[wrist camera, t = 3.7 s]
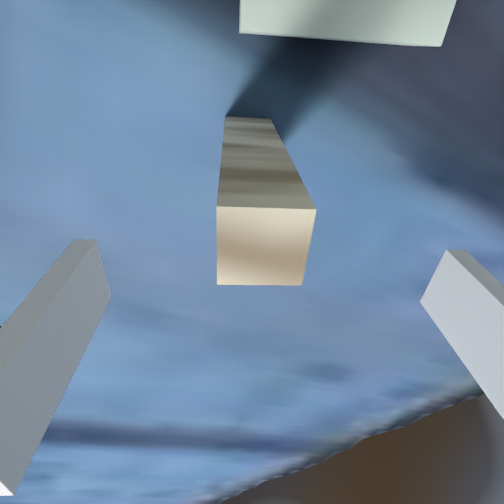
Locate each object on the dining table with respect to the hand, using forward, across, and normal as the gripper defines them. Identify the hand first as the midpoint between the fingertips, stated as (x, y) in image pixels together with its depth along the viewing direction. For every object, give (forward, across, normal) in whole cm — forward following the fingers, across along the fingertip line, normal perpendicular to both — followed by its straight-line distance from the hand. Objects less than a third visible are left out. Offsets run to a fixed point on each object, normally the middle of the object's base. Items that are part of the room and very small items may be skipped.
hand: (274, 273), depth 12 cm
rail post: (+20, 0, 0) cm, 20 cm away
